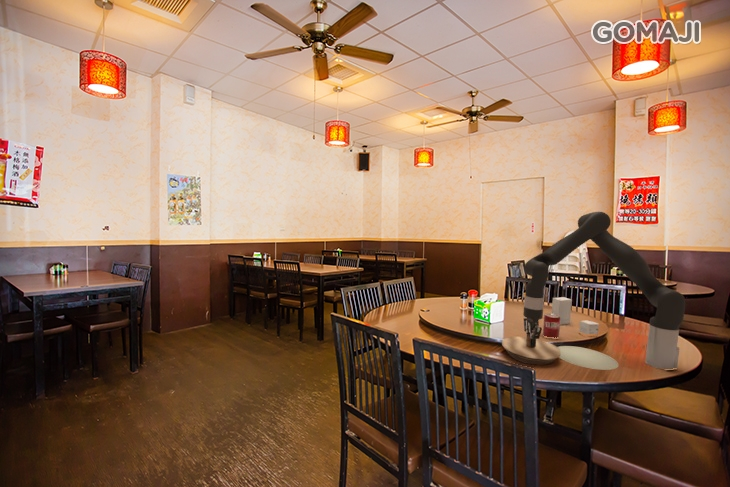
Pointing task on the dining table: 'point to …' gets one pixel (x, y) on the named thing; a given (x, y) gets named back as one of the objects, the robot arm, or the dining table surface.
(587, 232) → the robot arm
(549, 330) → the soda can
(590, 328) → the skincare box
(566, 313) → the skincare box
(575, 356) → the disc
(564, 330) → the dining table surface
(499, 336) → the dining table surface
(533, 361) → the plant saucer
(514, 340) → the lid
